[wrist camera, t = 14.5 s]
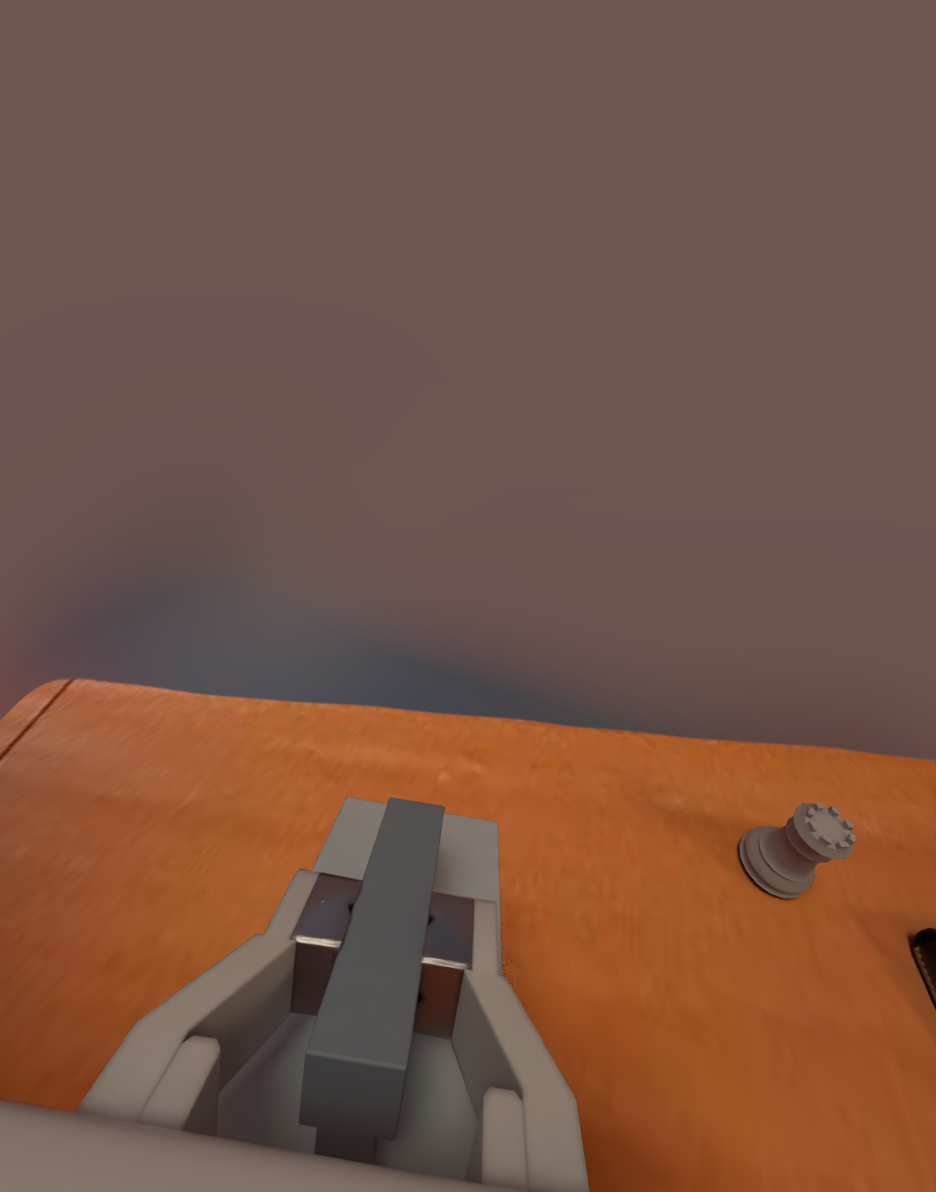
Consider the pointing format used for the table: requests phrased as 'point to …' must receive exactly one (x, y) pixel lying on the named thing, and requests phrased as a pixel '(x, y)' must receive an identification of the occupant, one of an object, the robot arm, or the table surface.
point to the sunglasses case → (927, 958)
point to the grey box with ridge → (374, 1006)
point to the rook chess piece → (796, 849)
